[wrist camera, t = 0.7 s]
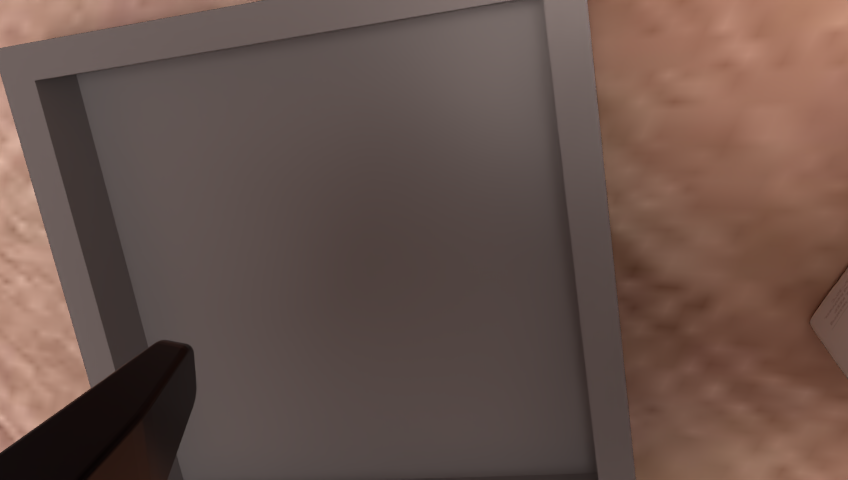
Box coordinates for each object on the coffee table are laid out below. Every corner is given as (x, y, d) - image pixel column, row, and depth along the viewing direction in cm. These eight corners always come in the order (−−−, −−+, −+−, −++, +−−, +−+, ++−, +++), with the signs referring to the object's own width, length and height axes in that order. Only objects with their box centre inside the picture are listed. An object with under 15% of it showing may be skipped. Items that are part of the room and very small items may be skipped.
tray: (636, 490, 25) (641, 540, 22) (174, 501, 28) (136, 547, 26) (582, -50, 21) (581, -58, 18) (50, 44, 24) (-7, 49, 22)
